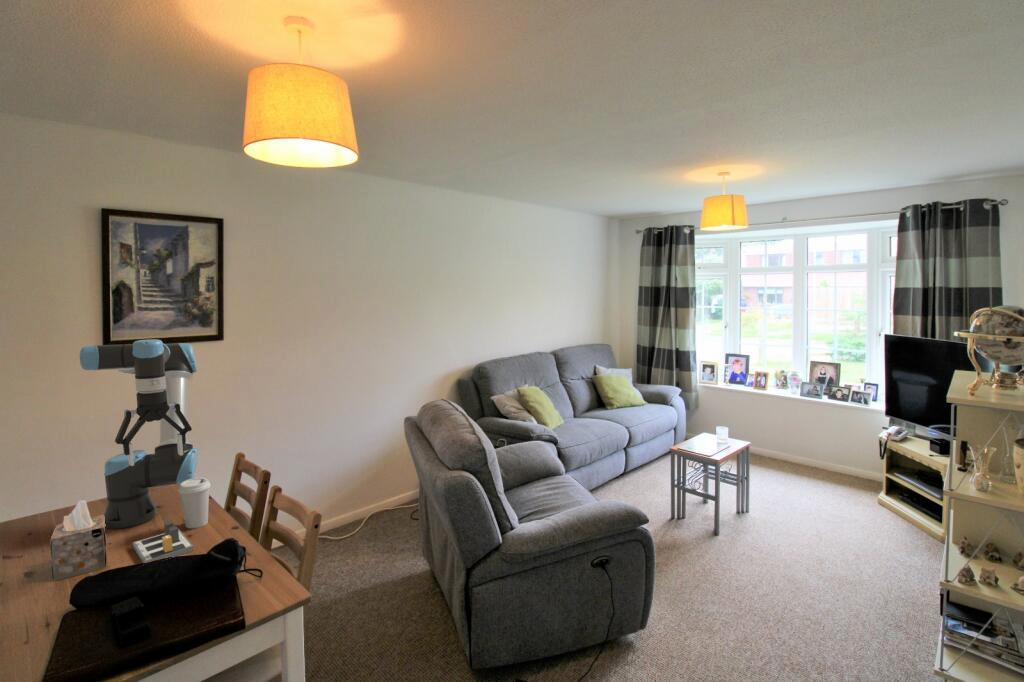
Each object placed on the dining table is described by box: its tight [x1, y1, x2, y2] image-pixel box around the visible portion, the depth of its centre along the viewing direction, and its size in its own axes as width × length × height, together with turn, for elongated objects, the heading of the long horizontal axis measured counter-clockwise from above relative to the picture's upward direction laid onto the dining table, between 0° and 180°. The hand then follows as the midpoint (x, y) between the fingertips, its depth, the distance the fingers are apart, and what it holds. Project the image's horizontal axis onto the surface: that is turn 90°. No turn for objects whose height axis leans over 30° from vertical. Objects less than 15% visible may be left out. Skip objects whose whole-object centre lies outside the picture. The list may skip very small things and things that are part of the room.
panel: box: [132, 520, 194, 564], centre depth 158 cm, size 16×12×6 cm
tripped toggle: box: [162, 535, 173, 552], centre depth 154 cm, size 2×2×4 cm
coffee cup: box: [177, 477, 212, 529], centre depth 174 cm, size 10×10×15 cm
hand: (156, 459), depth 157 cm, fingers open, 12 cm apart
